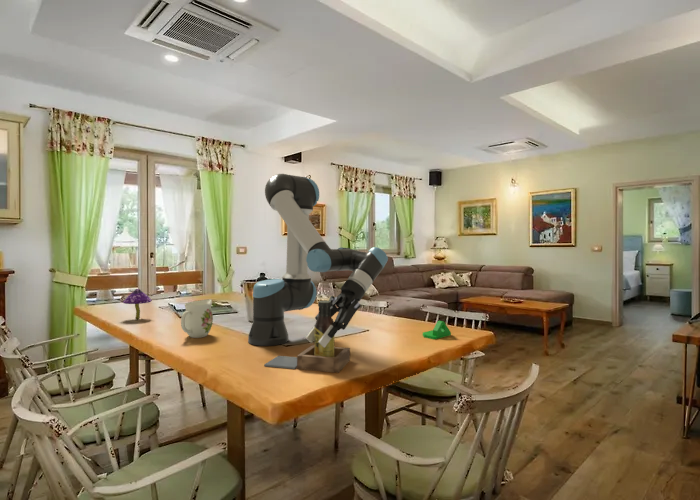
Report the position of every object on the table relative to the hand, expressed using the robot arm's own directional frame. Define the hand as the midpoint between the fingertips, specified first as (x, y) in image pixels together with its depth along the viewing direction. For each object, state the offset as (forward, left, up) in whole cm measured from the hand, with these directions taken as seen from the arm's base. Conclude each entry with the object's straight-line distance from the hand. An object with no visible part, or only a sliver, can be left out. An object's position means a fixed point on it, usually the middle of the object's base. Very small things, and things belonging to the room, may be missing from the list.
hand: (315, 342), depth 123 cm
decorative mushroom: (-108, +46, -8) cm, 118 cm away
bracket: (+33, +54, -8) cm, 64 cm away
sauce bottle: (+2, +3, -8) cm, 8 cm away
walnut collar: (+2, +3, -7) cm, 8 cm away
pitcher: (-59, +24, -8) cm, 64 cm away
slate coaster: (-10, +1, -7) cm, 12 cm away
